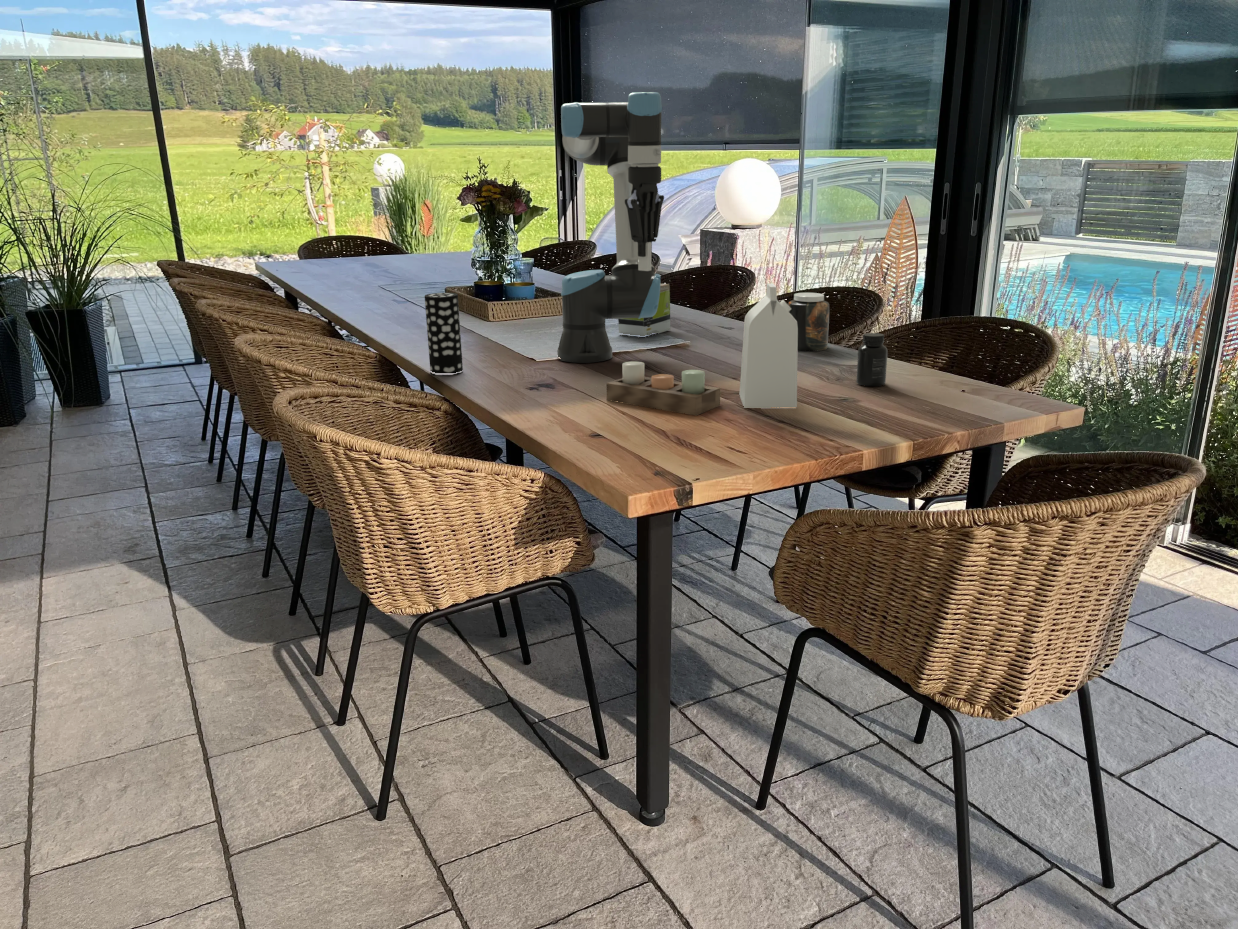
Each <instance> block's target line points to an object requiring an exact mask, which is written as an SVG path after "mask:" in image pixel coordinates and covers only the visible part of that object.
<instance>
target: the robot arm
mask: <svg viewBox="0 0 1238 929" xmlns="http://www.w3.org/2000/svg"><path fill="white" fill-rule="evenodd" d="M662 111H663V106H662V96H661V94H660V92H656V91H655V92H654V91H650V92H649V91H648V92H647V91H646V92H642V91H639V92H631V93H629V94H628V97H627V101H626V102H625V101H624V102H623V101H621V102H619V101H617V102H578V101H574V102H569V103H568V102H567V103H563V104H562V105H561V107H560V114H561V115H560V118H561V119H560V120H561V123H560V125H561V134H562V140H561V141H562V142H561V143H562V147H563V149H564V151H565V153H566V154H567V155H568V156H569V157H571V158H572V159H573V160H575V161H577V162H579V163H581V164H585V165H589V166H598V167H599V166H600V167H601V166H603V167H604V166H607V168H606V169H607V173H608V174H609V175H610V176H611V177H612V178H613V196H614V197H613V199H614V201H613V202H614V204H613V205H614V224H615V225H614V226H615V245H616V246H615V248H616V264H615V265H614V266H613V267H611V275H606V273H605V271H604V270H603V269H590V270H583V271H578V272H573V273H570V274H567V275H565V276H563V278H562V280H561V293H560V296H561V302H562V306H561V308H562V311H561V312H562V332H561V335H560V336H561V337H560V341H559V343H558V347H557V350H556V351H557V352H556V353H557V354H556V355H558V357H560V358H561V359H560V360H559V361H562V362H565V363H575V364H578V363H579V364H585V363H586V364H587V363H589V364H590V363H597V362H604V361H607V360H608V361H609V360H610V359H612V358H613V347H612V346H611V342H610V339H609V336H608V333H607V329H606V320H613V319H614V320H615V319H617V320H618V319H623V318H638V319H640V318H647V317H653V316H654V315H655V314H656V312H657V308H658V303H659V296H660V284H662V283H661V275H660V273H655V266H654V265H653V264H652V252H653V242H654V243H656V241H657V238H658V236H659V228H660V222H661V221H660V220H661V214H662V206H663V203H664V200H665V196H664V195H663V194H662V195H661V194H659V189H658V184H660V183H661V182H662V167H661V166H660V165H659V164H661V163H662V114H663V113H662ZM558 357H557V358H558Z"/></svg>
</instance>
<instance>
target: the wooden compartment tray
mask: <svg viewBox="0 0 1238 929" xmlns="http://www.w3.org/2000/svg"><path fill="white" fill-rule="evenodd" d="M651 377H652V376H651ZM651 377H649V376H644V383H641V384H639V385H632V384H626V383H623V377H621V378H617V379H615V380H612V381H609V382H606V387H605V388H606V401H609V400H612V401H611V402H614V401H618V402H617V403H620V402H623V403H622V404H626V403H628V404H627V405H632V404H634V405H633V406H638V405H640V406H639V407H643V406H645V408H649V407H650V408H651V409H655V408H656V409H655V410H661V409H662V411H667V412H672V411H673V412H675V413H678V414H684V413H685V414H686V415H689V416H698V415H701V414H704V413H706V412H708V411H711V410H713V409H715V408H717V407H720V406H721V387H716V386H709V385H705V391H704V392H703V393H701V394H698V395H696V394H689V393H683V392H682V381H678V380H677V381H675V380H674V387H673V388H670V389H667V390H664V389H658V388H652V381H651ZM673 412H672V413H673Z"/></svg>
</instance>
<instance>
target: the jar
mask: <svg viewBox="0 0 1238 929" xmlns="http://www.w3.org/2000/svg"><path fill="white" fill-rule="evenodd" d="M787 304H788V305H789V307H790V308H791V310H790V311H789V313H790V314H791V315H792V316H793V317H794V318H795V320H796V321H797V326H798V351H799V352H820V351H825V350H827V349H828V343H829V327H830V326H829V324H830V303H829V302H828V301H826V300H825V294H823V293H819V292H818V293H817V292H798V293H797V292H796V293H794V294H793V299H792V300H790V301H788V303H787Z"/></svg>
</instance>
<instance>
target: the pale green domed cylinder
mask: <svg viewBox="0 0 1238 929" xmlns="http://www.w3.org/2000/svg"><path fill="white" fill-rule="evenodd" d="M705 374H706V373H705V371H704V370H700V369H687V370H682V371H681V382H682V392H683V393H689V394H696V395H698V394H701V393H703V392H704V391H705V386H706V385H705V384H706V383H705V380H706V376H705Z"/></svg>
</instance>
